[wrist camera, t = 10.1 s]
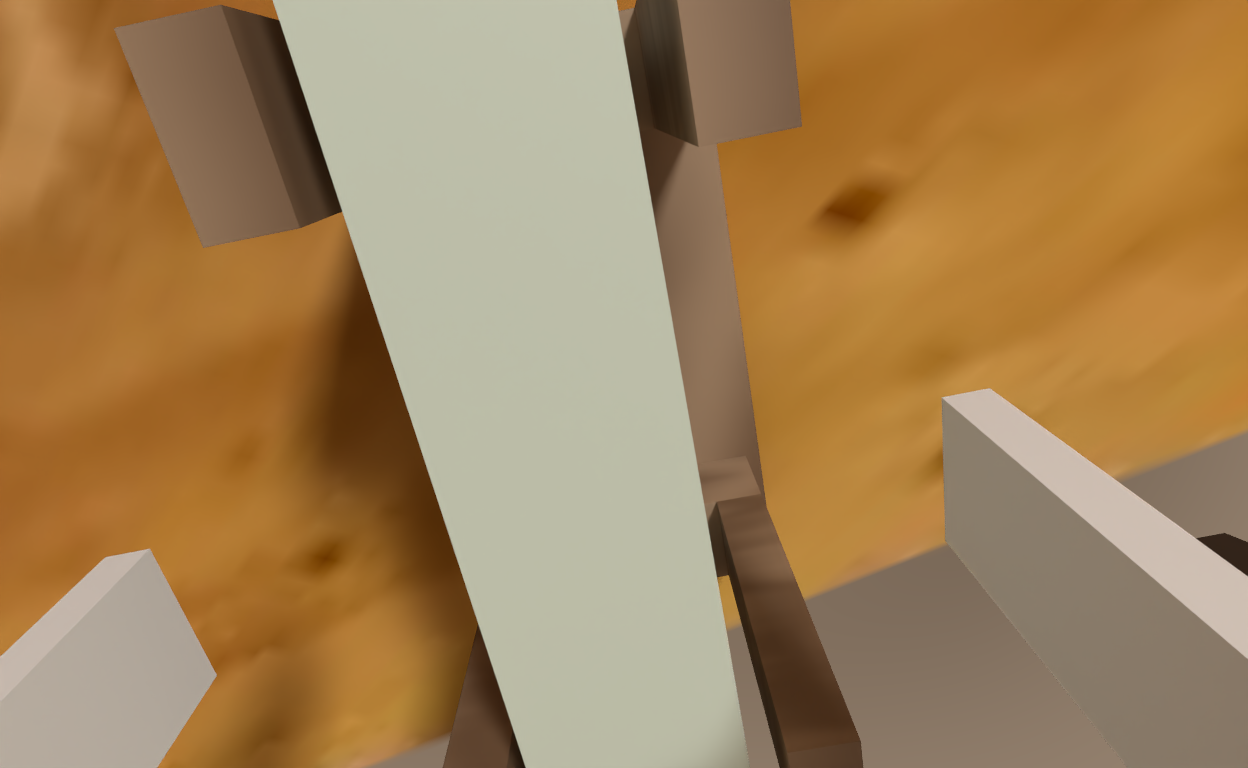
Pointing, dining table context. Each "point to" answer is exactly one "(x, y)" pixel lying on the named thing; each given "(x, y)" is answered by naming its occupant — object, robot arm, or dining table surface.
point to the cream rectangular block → (534, 357)
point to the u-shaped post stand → (691, 257)
